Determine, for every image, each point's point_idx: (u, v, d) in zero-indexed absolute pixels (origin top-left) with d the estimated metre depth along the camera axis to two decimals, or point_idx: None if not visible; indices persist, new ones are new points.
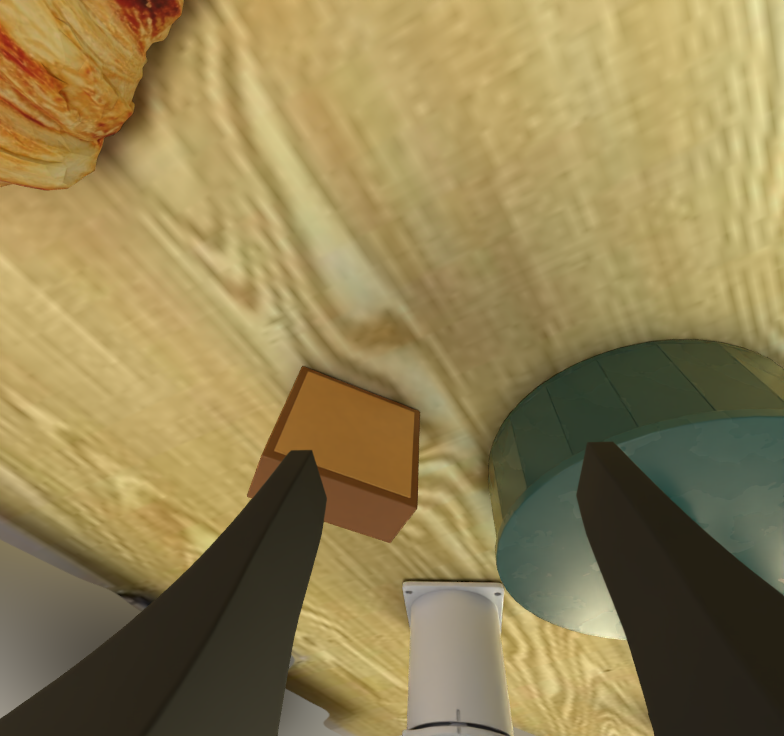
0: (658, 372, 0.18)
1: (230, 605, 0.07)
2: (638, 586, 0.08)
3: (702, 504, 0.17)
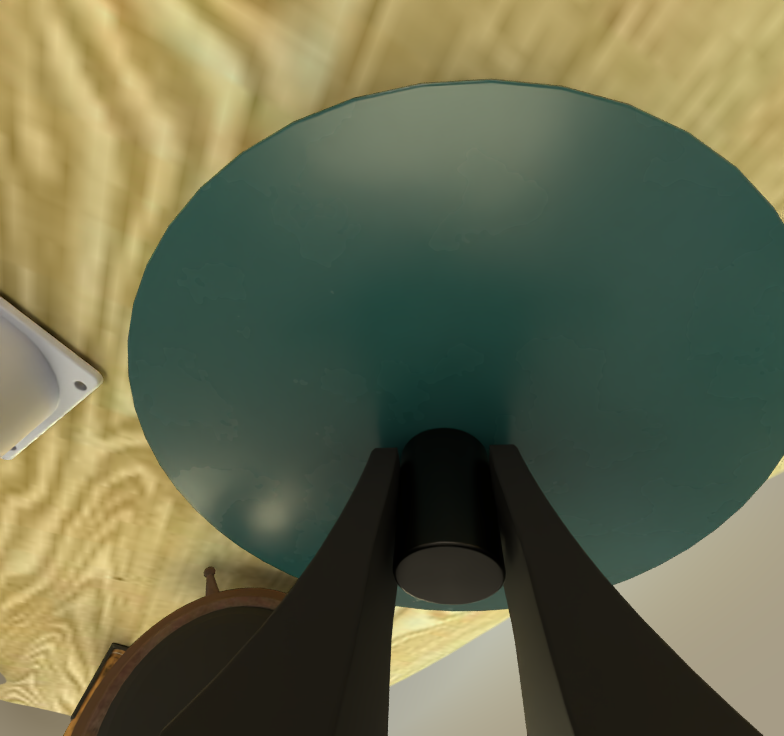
0: None
1: (363, 608, 0.07)
2: (515, 584, 0.08)
3: (573, 388, 0.10)
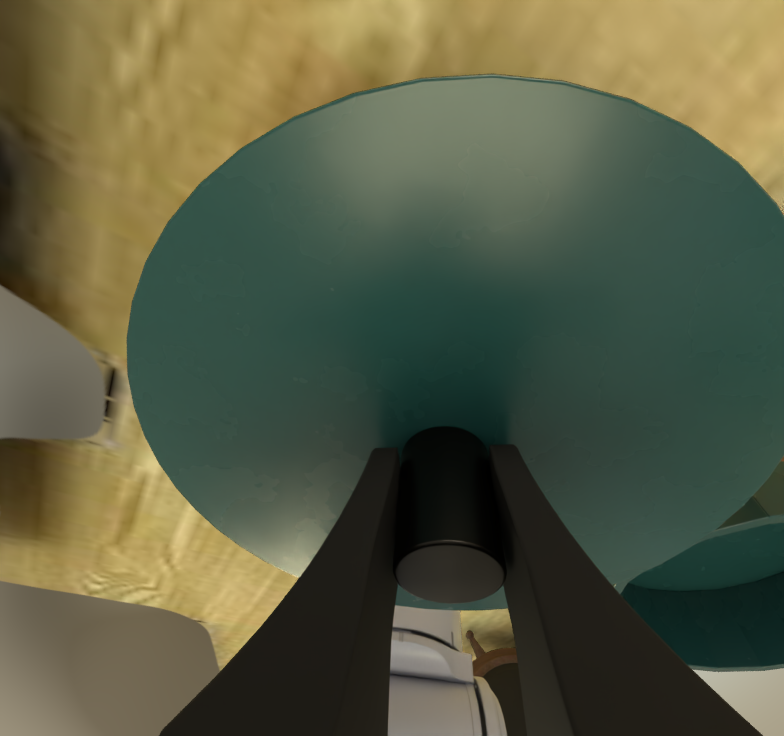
0: None
1: (363, 608, 0.07)
2: (515, 584, 0.08)
3: (574, 386, 0.10)
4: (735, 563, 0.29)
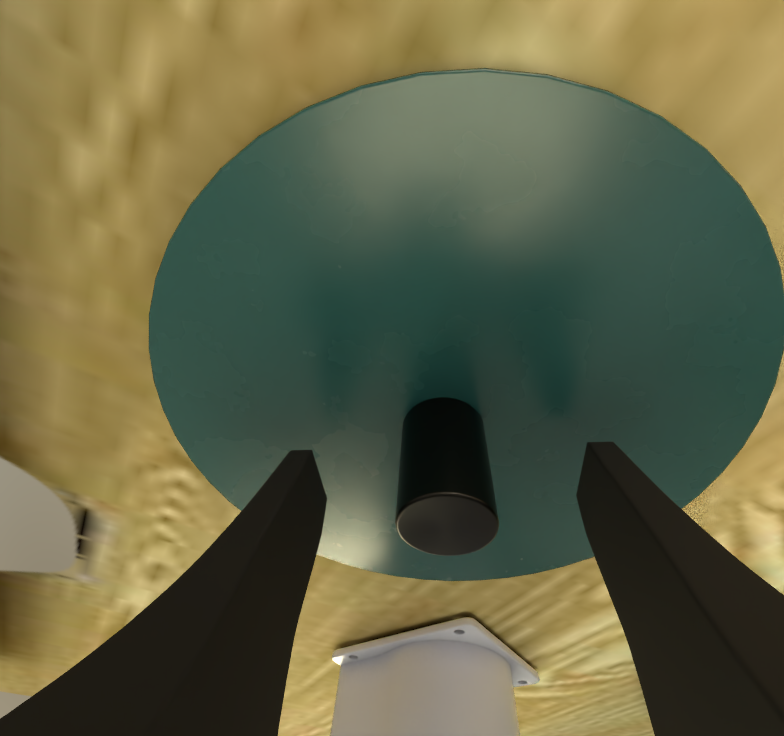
0: None
1: (230, 605, 0.07)
2: (638, 586, 0.08)
3: (561, 358, 0.11)
4: None
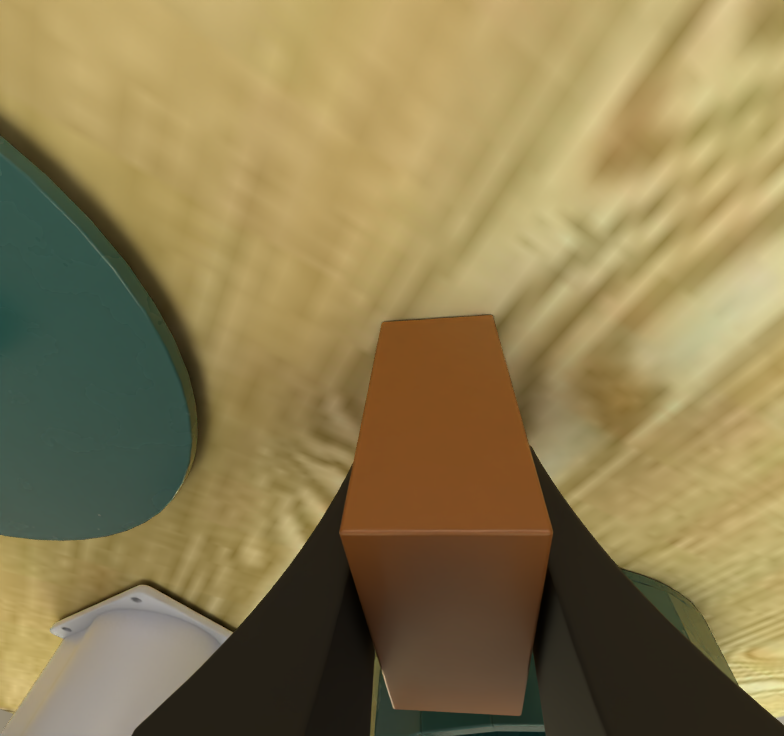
0: (719, 663, 0.16)
1: (341, 608, 0.07)
2: None
3: None
4: None
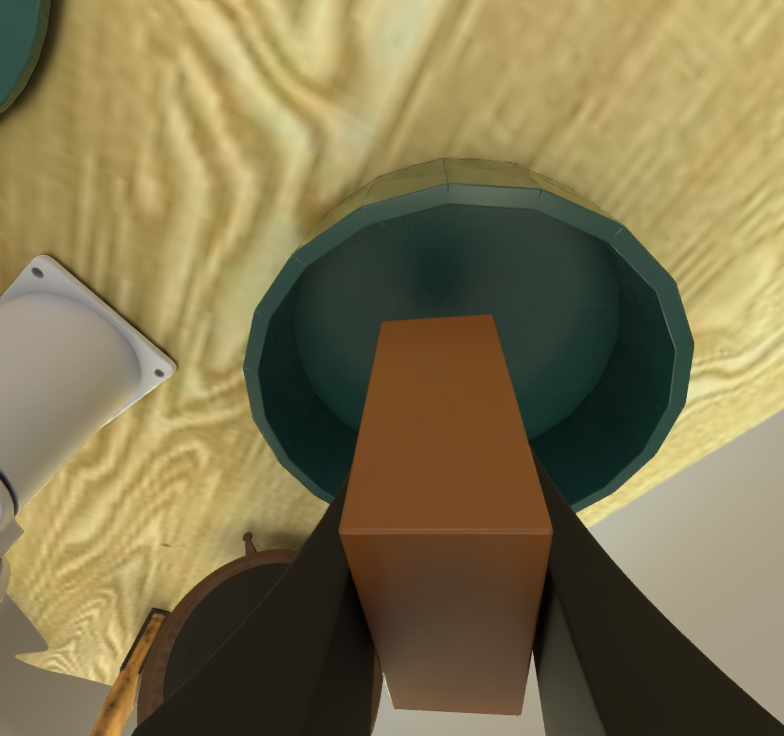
0: None
1: (341, 607, 0.07)
2: None
3: None
4: None
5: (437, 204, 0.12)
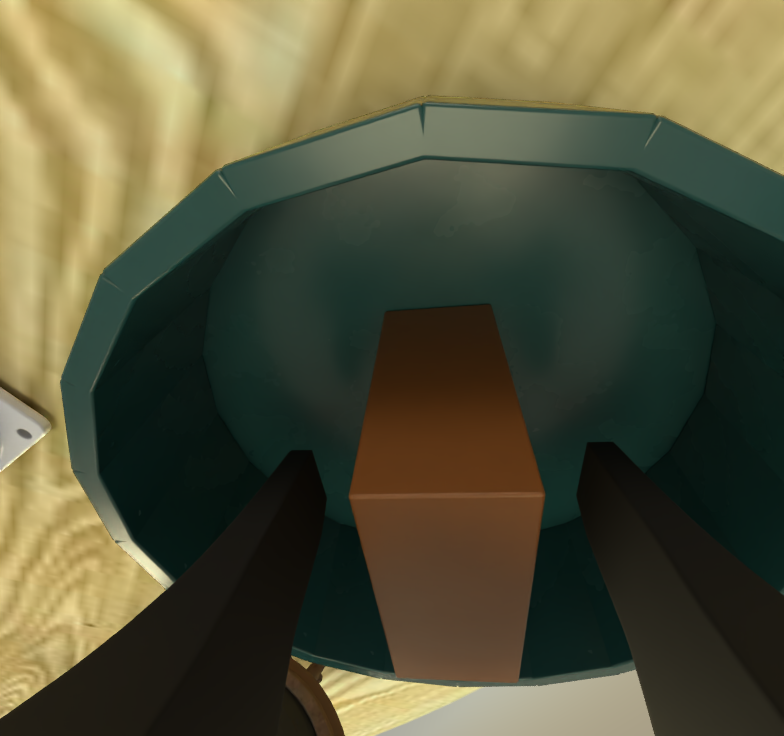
0: None
1: (230, 605, 0.07)
2: (638, 586, 0.08)
3: None
4: None
5: (398, 158, 0.05)
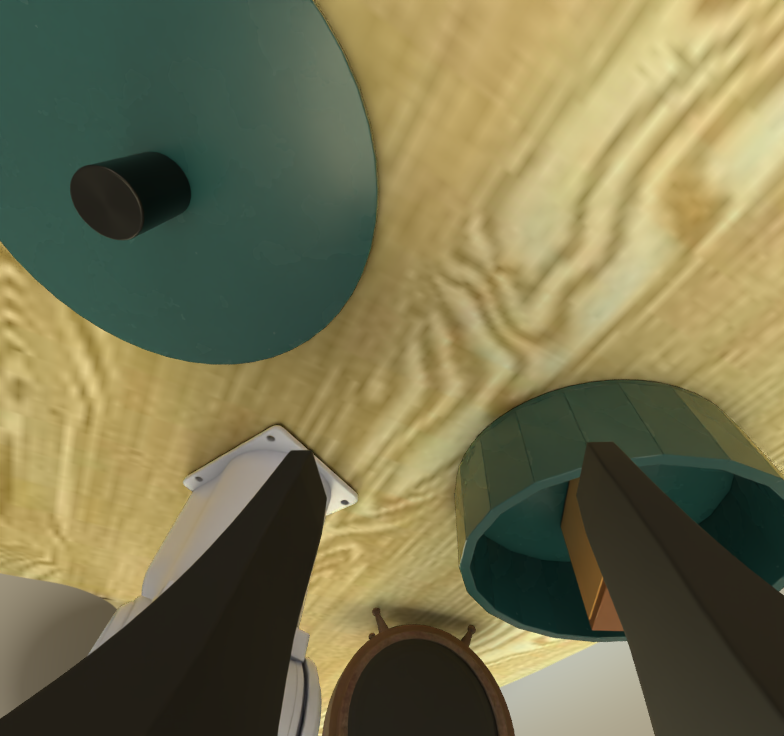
0: (759, 450, 0.20)
1: (230, 605, 0.07)
2: (638, 586, 0.08)
3: (215, 107, 0.15)
4: None
5: (652, 464, 0.17)
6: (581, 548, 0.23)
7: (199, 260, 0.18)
